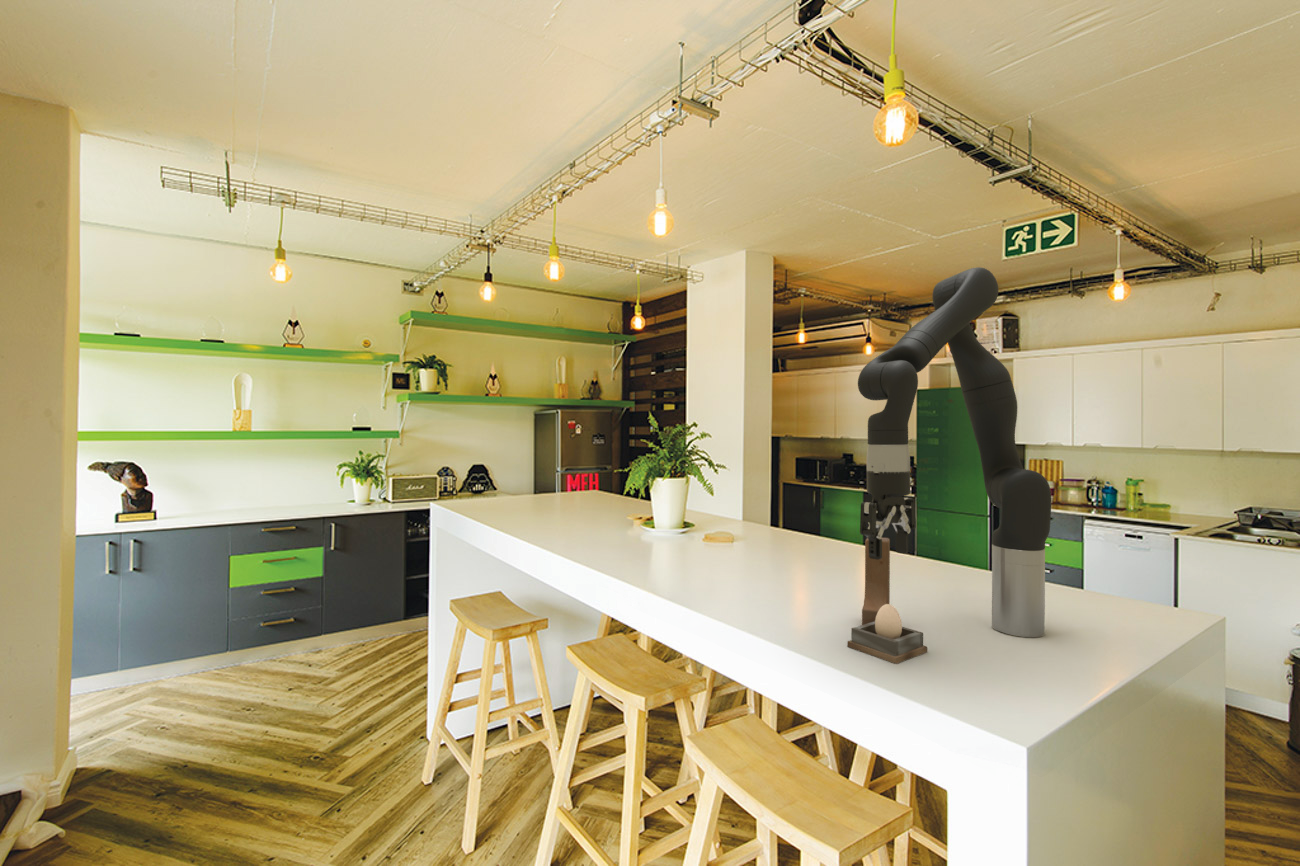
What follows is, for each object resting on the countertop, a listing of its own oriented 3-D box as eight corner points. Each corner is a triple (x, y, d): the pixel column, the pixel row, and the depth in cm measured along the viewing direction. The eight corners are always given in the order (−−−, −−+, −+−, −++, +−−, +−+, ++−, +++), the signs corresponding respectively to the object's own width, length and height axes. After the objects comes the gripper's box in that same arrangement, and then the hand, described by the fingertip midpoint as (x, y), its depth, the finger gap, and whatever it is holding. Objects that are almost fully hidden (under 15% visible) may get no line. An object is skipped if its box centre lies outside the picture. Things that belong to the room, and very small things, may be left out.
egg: (905, 644, 109) (906, 604, 109) (895, 650, 105) (895, 609, 105) (881, 637, 112) (881, 599, 112) (870, 643, 109) (870, 604, 109)
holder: (878, 636, 116) (878, 618, 116) (927, 651, 108) (927, 632, 108) (847, 646, 110) (847, 628, 110) (896, 663, 102) (896, 643, 102)
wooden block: (885, 634, 117) (885, 544, 117) (861, 630, 119) (862, 542, 119) (889, 621, 125) (890, 537, 125) (867, 618, 127) (867, 536, 127)
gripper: (891, 466, 116) (892, 548, 116) (847, 469, 107) (848, 557, 107) (928, 468, 110) (928, 554, 110) (884, 471, 101) (885, 564, 101)
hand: (888, 555), depth 108 cm, fingers open, 8 cm apart
